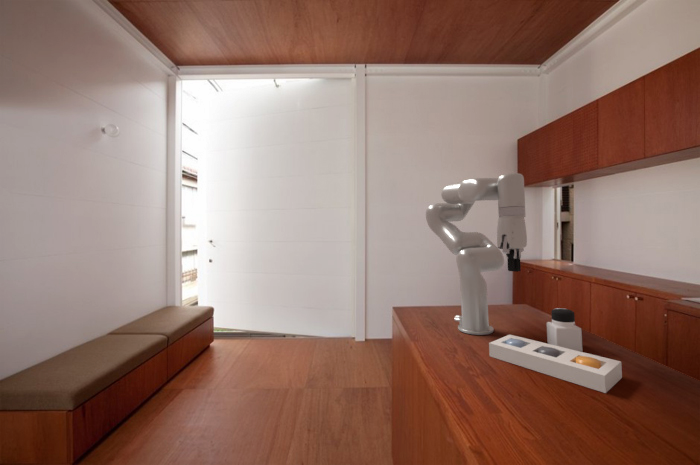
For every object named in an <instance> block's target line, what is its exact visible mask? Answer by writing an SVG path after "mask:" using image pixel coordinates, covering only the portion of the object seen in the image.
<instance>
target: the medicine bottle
mask: <svg viewBox="0 0 700 465" xmlns="http://www.w3.org/2000/svg"><path fill="white" fill-rule="evenodd" d="M550 313H551V321H547V322H546V337H547V338H546V339H547V344H551V345H555V346H559V347H563V348H568V349H572V350H576V351H580V352H583V333H582V332H583V331H582V327H579V326H577V325H576V321H575V320H576V319H575V312H574V311H573V310H571V309H570V308H569V309H567V308H560V307H559V308H558V307H557V308H554V309H552V310H551V312H550Z"/></svg>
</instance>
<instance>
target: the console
mask: <svg viewBox="0 0 700 465" xmlns="http://www.w3.org/2000/svg"><path fill="white" fill-rule="evenodd" d="M507 339H519V340H523V341H524V342H525V346H524V347H522V348H519V347H516V346H512V345H508V344H507V343H506V340H507ZM539 347H551V348H555V349H557V350H559V351H560V356H558V357H552V356H549V355H545V354H541V353H538V348H539ZM488 351H489V352H488V353H489V357H490V358H493V359H494V358H495V359H497V360H500V361H503V362H505V363H506V362H507V363H509V364H513V365H517V366H519V367H522V368H525V369H529V370H532V371H534V372H538V373H541V374H544V375H547V376H549V377H552V378H553V377H554V378H557V379H559V380H562V381H566V382H569V383H573V384H576V385H579V386H581V387H585V388H587V389H591V390H594V391H598V392H601V393H604V394H607V393H608V392H609V391H610V390H611V389H612V388H613V387H614V386H615V385H616V384H618V382H619V381H620V380H621V379H623V371H622V366H623V365H622V361H620V360H616V359H612V358H608V357H603V356H601V355H597V354H592V353H587V352H583V351H582V352H581V351H576V350H572V349H568V348H563V347H559V346H555V345H551V344H549V343H548V342H547V343H546V342H542V341H538V340H534V339H530V338H526V337H522V336H518V335H513V334H507V335H505V336H503V337H500V338H498V339H495V340H493V341H490V342H488ZM578 356H586V357H591V358H595V359H597V360H599V361H600V362H601V367H600V368H599V369H597V368H593V367H589V366H586V365H582V364H578V363H576V357H578Z"/></svg>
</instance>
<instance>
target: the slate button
mask: <svg viewBox="0 0 700 465" xmlns="http://www.w3.org/2000/svg"><path fill="white" fill-rule="evenodd" d="M506 343H507V344H508V345H512V346H516V347H519V348H522V347H524V346H525V342H524V341H523V340H519V339H507V340H506Z"/></svg>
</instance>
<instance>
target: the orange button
mask: <svg viewBox="0 0 700 465" xmlns="http://www.w3.org/2000/svg"><path fill="white" fill-rule="evenodd" d="M576 363H578V364H582V365H586V366H589V367H593V368H597V369H599V368H600V367H601V362H600V361H599V360H597V359H595V358H591V357H586V356H578V357H576Z"/></svg>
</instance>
